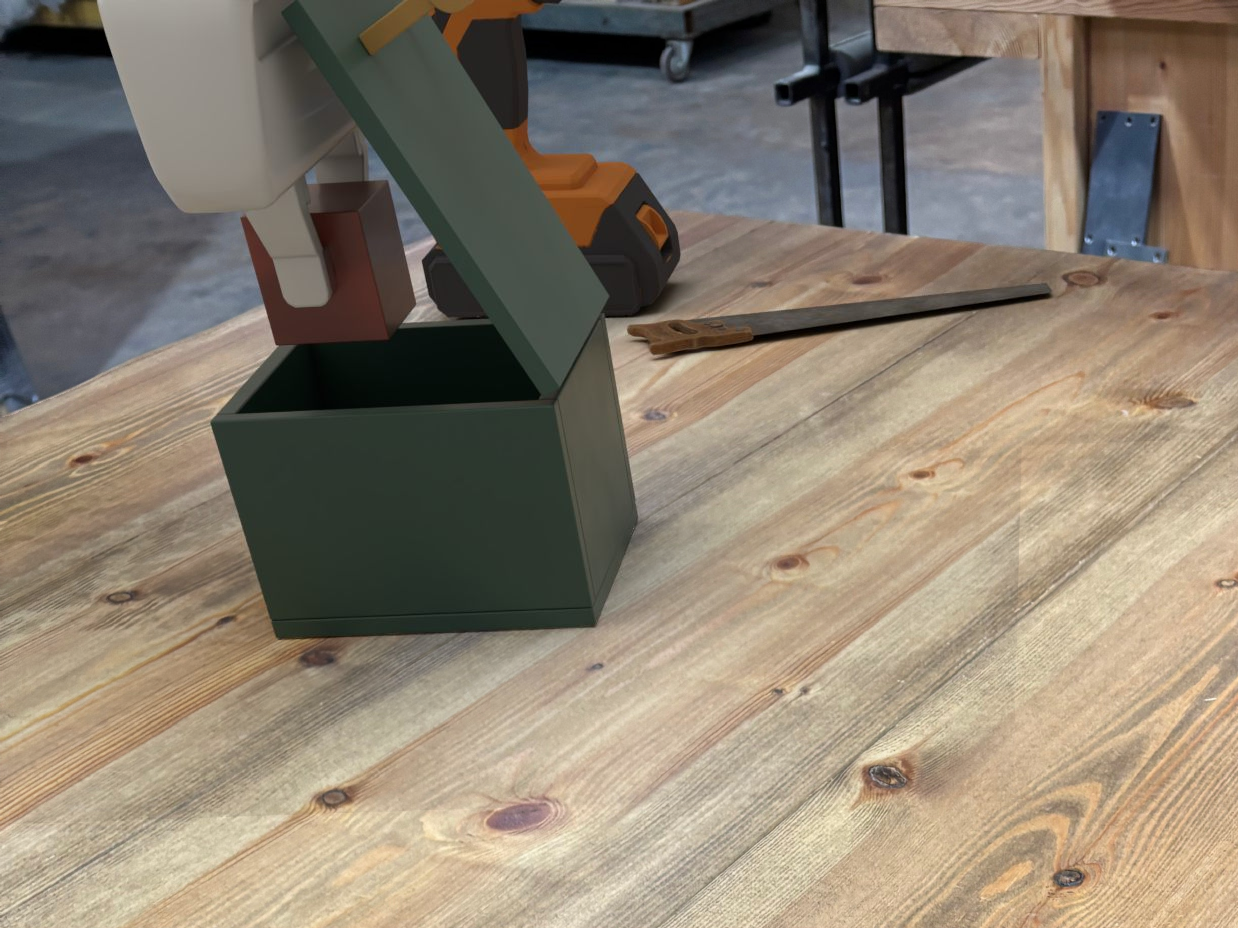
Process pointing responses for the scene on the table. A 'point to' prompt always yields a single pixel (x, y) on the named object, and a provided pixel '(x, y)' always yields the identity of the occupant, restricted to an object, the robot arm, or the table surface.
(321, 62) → the lid
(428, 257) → the power drill
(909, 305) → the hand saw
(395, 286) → the block
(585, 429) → the chest
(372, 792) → the table surface
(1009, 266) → the table surface
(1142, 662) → the table surface
